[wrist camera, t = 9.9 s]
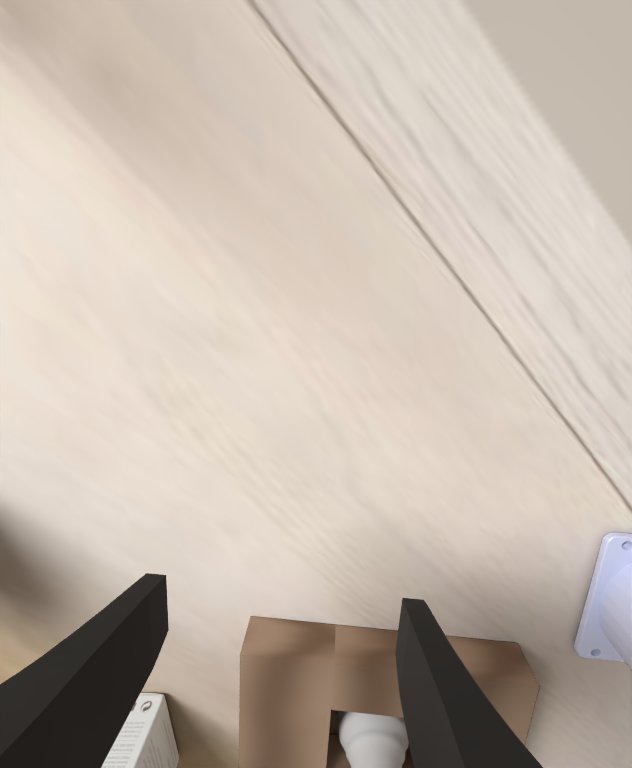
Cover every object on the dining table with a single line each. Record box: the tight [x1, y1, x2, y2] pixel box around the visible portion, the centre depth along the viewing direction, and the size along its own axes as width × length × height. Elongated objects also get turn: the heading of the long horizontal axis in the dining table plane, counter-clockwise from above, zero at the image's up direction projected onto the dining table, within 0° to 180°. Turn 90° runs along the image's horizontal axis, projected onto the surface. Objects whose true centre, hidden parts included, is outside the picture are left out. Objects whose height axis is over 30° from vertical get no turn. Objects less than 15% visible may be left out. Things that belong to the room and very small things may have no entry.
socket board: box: [239, 616, 539, 768], centre depth 23 cm, size 16×12×2 cm
